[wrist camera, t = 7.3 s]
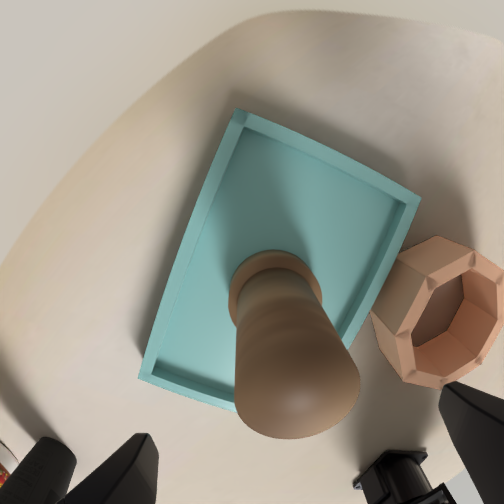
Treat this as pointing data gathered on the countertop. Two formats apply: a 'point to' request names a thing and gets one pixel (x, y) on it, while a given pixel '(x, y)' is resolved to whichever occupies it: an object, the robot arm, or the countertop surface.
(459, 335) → the mortar
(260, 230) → the tray
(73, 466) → the drinking cup
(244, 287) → the pestle
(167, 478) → the countertop surface
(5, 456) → the milk bottle
